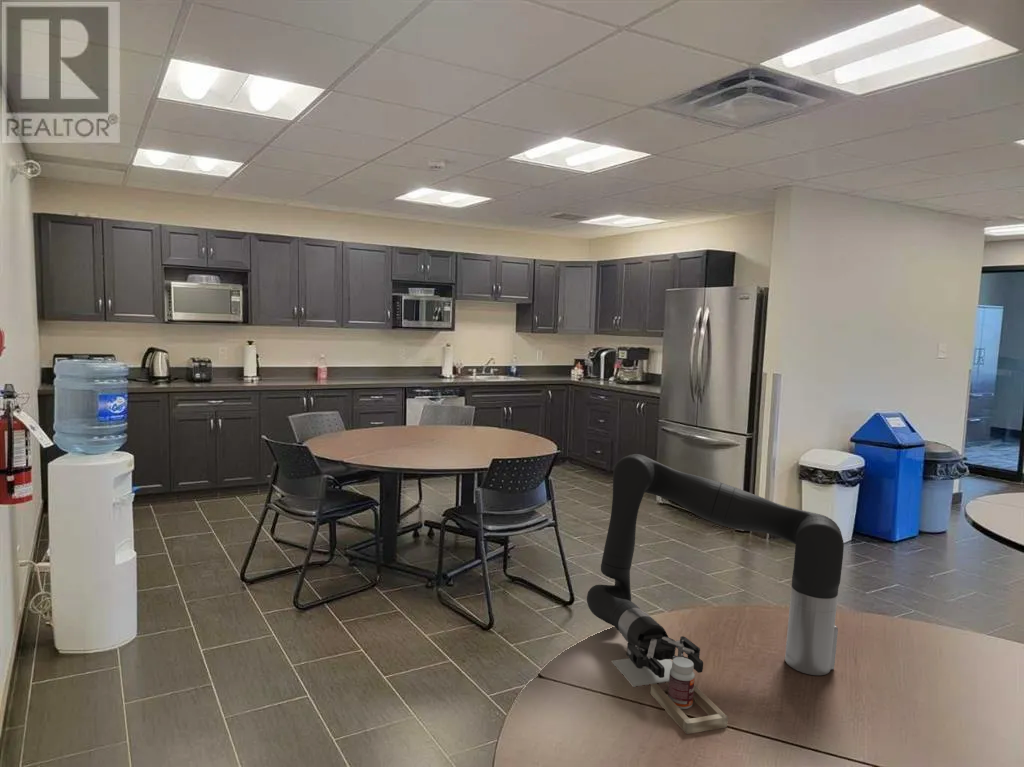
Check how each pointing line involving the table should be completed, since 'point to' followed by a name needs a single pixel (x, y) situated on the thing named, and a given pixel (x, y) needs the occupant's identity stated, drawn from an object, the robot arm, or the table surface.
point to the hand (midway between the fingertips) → (682, 670)
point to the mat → (642, 672)
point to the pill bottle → (681, 682)
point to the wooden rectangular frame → (694, 724)
